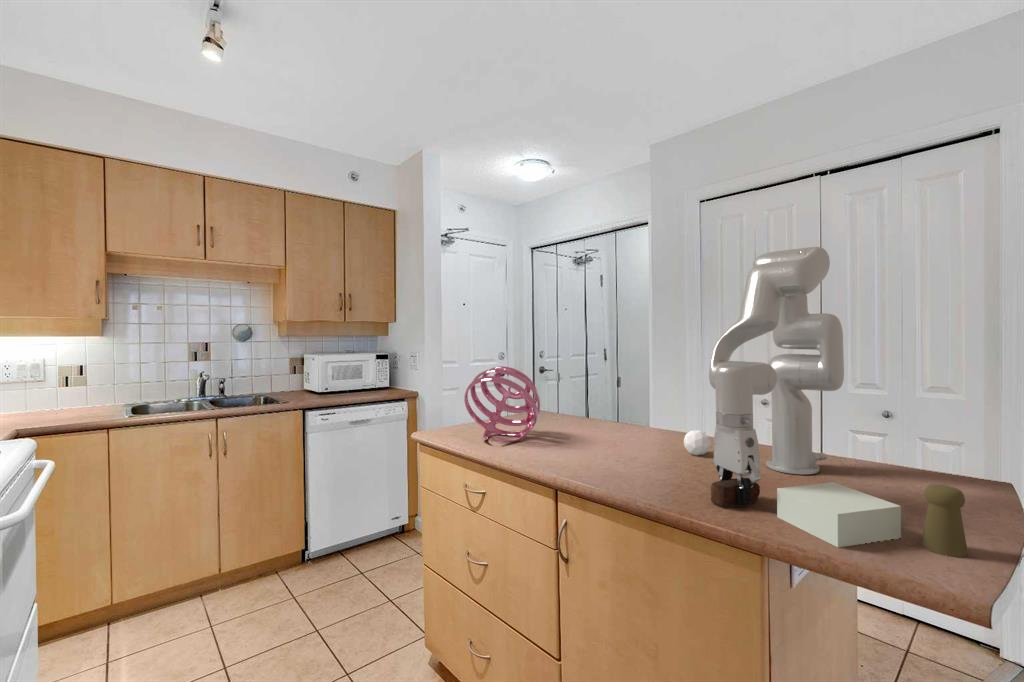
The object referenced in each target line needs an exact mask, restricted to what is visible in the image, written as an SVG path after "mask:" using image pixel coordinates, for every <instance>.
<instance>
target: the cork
mask: <svg viewBox="0 0 1024 682" xmlns="http://www.w3.org/2000/svg"><path fill="white" fill-rule="evenodd" d="M923 493H924V495H923V496H924V499H925V501H926V503H928V505H927V509H926V510H927V511H926V515H925V522H924V527H923V533H922V537H921V543H920V545H921V544H922V545H921V546H922V548H924V549H925V550H927V549H928V551H929V550H930V552H931V553H934V552H935V553H934V554H937V553H939V554H938V555H941V554H942V555H941V556H945V555H947V556H946V557H950V556H951V558H966V556H967V557H968V556H969V552H968V545H967V539H966V534H965V528H964V522H963V516H962V510H961V508H963V507H964V506H965V503H966V497H965V495H964V493H963V492H962V491H961V490H960V489H958V488H956V487H954V486H950V485H946V484H938V483H937V484H930V485H927V486H926V487H925V488H924V492H923Z"/></svg>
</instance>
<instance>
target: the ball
mask: <svg viewBox="0 0 1024 682" xmlns="http://www.w3.org/2000/svg"><path fill="white" fill-rule="evenodd" d="M711 445H712V442H711V440H710V436H708V435H707V433H706V432H704V431H702V430H699V429H694V430H690V431H688V432H687V433H686V434H685V436H684V439H683V446H684V448H685V449H686V450H687V452H688V453H689V454H691V455H694V456H701V455H705V454H706V453H708V452H709V450H710V448H711Z"/></svg>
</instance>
